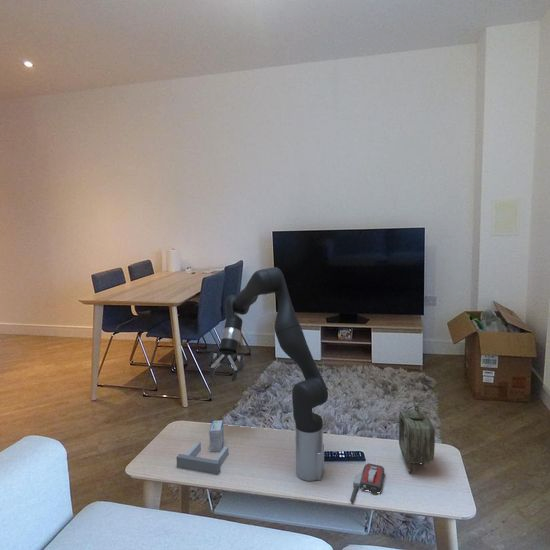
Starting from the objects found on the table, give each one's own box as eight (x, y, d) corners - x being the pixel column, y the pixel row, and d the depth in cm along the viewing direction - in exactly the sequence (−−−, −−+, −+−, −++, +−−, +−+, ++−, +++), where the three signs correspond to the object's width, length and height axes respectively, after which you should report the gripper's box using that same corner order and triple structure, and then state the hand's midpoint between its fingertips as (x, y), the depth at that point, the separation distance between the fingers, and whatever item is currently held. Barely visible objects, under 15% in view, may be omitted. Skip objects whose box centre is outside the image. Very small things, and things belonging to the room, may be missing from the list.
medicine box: (221, 451, 155) (221, 430, 154) (210, 452, 155) (209, 430, 154) (224, 440, 163) (223, 420, 162) (213, 440, 163) (212, 420, 162)
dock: (232, 454, 153) (231, 444, 153) (218, 474, 141) (217, 464, 141) (193, 448, 158) (193, 438, 157) (176, 467, 146) (176, 456, 145)
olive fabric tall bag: (398, 452, 153) (399, 388, 150) (423, 453, 152) (425, 389, 149) (406, 476, 139) (408, 406, 135) (434, 477, 138) (437, 407, 134)
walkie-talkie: (359, 467, 145) (348, 504, 126) (360, 456, 144) (348, 491, 126) (385, 473, 142) (377, 511, 123) (385, 461, 141) (377, 498, 123)
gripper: (211, 335, 166) (202, 375, 158) (246, 339, 164) (238, 379, 156) (215, 342, 173) (206, 380, 165) (248, 345, 171) (241, 384, 163)
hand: (222, 379), depth 160 cm, fingers open, 8 cm apart
